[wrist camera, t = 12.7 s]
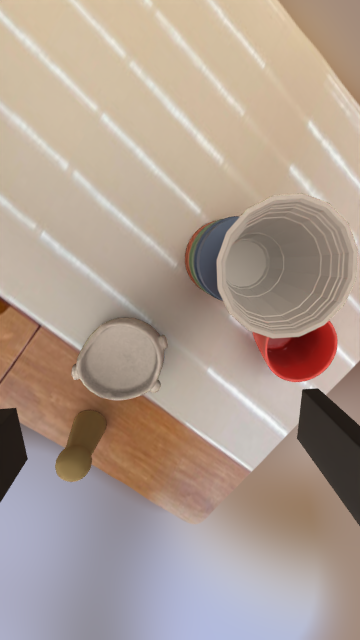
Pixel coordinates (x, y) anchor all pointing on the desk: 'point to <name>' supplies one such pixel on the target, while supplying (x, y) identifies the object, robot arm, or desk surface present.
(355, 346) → the desk surface
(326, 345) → the flower pot
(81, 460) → the wooden peg doll
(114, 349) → the dish
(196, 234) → the cup stack
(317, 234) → the plastic cup
